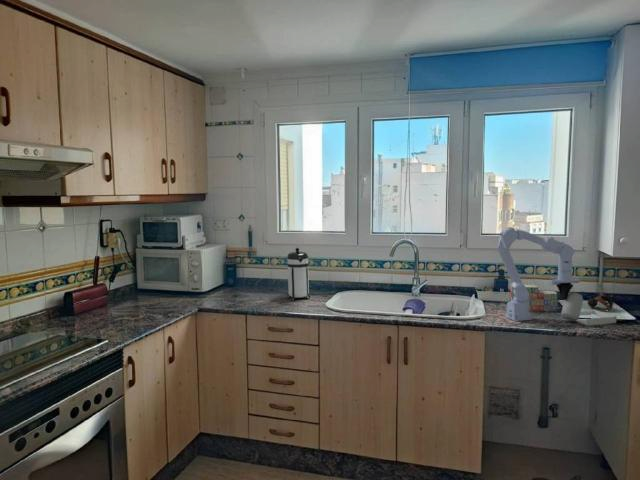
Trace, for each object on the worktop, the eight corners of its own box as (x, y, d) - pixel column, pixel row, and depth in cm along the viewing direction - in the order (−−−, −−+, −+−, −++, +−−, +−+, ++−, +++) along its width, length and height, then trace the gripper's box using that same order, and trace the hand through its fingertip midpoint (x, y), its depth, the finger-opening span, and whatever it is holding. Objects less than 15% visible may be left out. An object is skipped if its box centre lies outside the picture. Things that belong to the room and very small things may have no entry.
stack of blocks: (554, 308, 242) (555, 285, 240) (557, 312, 236) (558, 287, 234) (510, 306, 247) (510, 283, 246) (511, 309, 241) (512, 286, 240)
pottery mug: (598, 307, 244) (608, 295, 240) (609, 319, 236) (619, 307, 232) (579, 302, 242) (588, 290, 237) (590, 315, 234) (599, 302, 230)
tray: (588, 325, 211) (588, 319, 211) (567, 318, 224) (567, 312, 223) (616, 323, 214) (616, 316, 214) (593, 315, 227) (594, 309, 227)
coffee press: (317, 296, 282) (315, 246, 278) (302, 302, 268) (300, 250, 265) (293, 293, 291) (292, 245, 288) (277, 298, 278) (276, 248, 274)
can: (569, 315, 212) (575, 290, 215) (556, 315, 219) (562, 291, 222) (582, 321, 214) (587, 297, 217) (569, 321, 221) (574, 297, 224)
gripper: (572, 267, 223) (571, 296, 224) (545, 269, 220) (544, 298, 221) (583, 270, 216) (582, 299, 217) (555, 272, 213) (554, 301, 214)
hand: (564, 299), depth 219 cm, fingers closed
